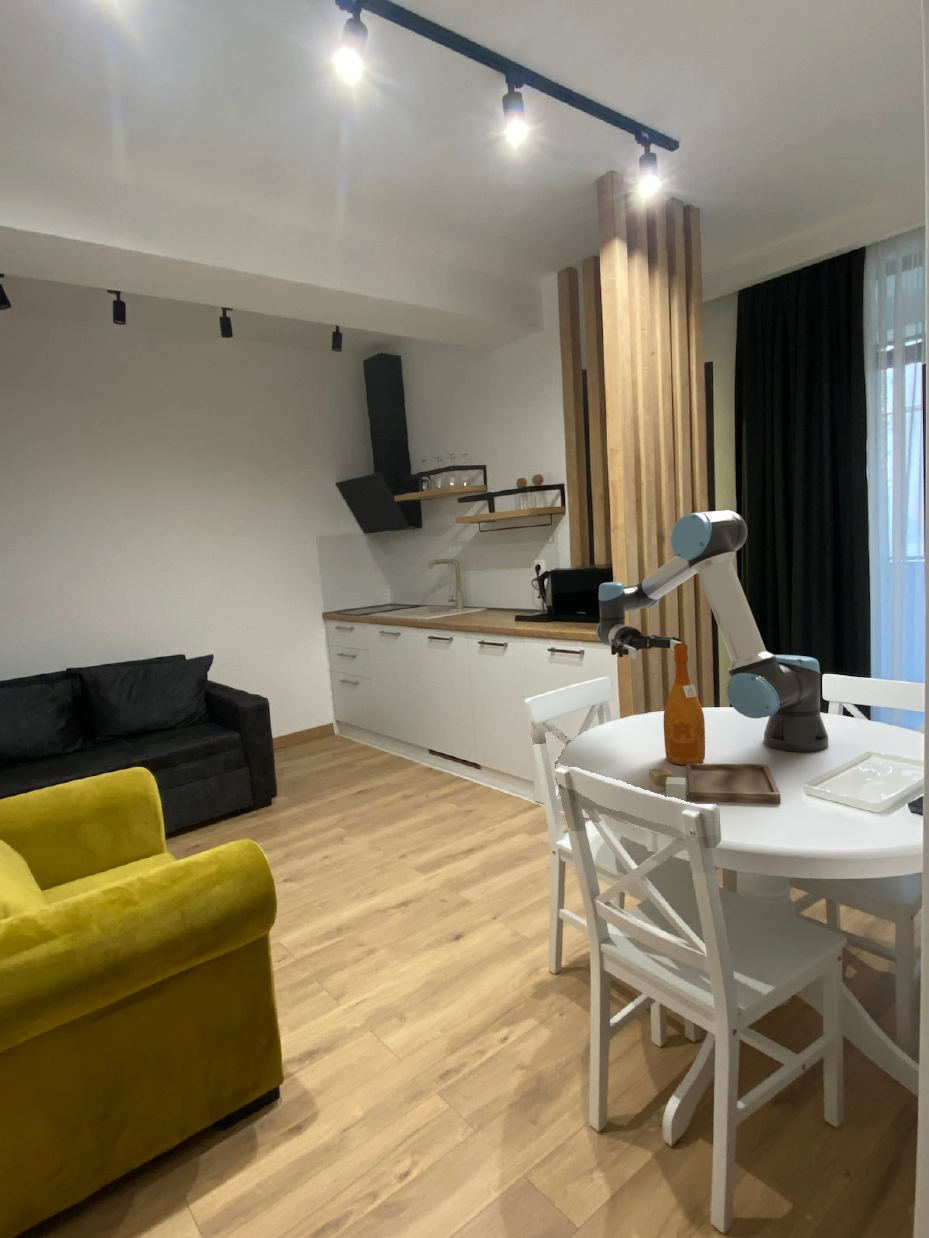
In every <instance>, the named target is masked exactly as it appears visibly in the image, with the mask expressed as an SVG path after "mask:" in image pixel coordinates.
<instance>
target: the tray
mask: <svg viewBox="0 0 929 1238" xmlns="http://www.w3.org/2000/svg"><path fill="white" fill-rule="evenodd" d="M686 764H687V765H686V775H687V777H686V778H687V783H688V792H689V800H690V802H714V803H715V802H717V803H718V802H719V803H721V802H722V803H746V804H747V803H750V804H751V803H752V804H753V803H754V804H756V803H757V804H781V803H782V800H781V793H780V790H779V788H778V786H777V784H776V781H775V780H774V776H773V775H772V772H771V770H770V768H769V766H768V764H766V763H764V764H762V763H760V764H758V763H754V764H753V763H686Z"/></svg>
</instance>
